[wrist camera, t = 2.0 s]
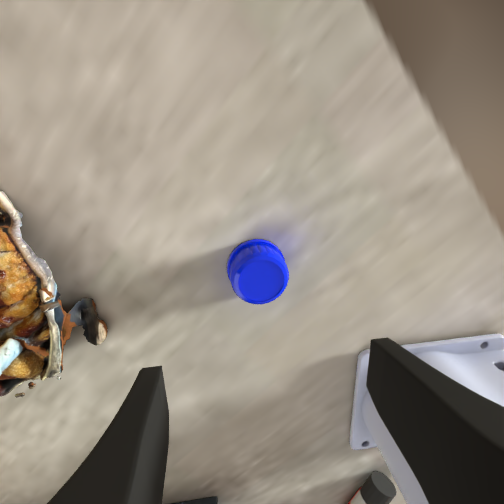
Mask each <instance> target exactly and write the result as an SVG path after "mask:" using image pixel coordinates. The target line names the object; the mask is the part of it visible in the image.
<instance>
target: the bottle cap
mask: <svg viewBox="0 0 504 504" xmlns="http://www.w3.org/2000/svg"><path fill="white" fill-rule="evenodd" d="M227 273H228V277H229V279H230V281H231V284H232V287H233V290H234V292H235V293H236V295H237V296H238V297H239V298H241V299H242V300H244V301H246V302H249V303H252V304H265V303H269V302H271V301H273V300H275V299H276V298H278V297H279V296H280V295H281V294H282V292H283V291H284V289H285V288H286V286H287V283H288V279H289V272H288V268H287V266H286V264H285V260H284V257H283V255H282V253H281V251H280V250H279V249H278V247H277V246H276V245H274V244H273V243H271V242H269V241H266V240H263V239H253V240H248V241H246V242H244V243H241V244H240V245H239V246H237V247H236V248H235V249H234V250H233V251H232V253H231V254H230V256H229V259H228V261H227Z"/></svg>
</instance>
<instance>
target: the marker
mask: <svg viewBox="0 0 504 504" xmlns="http://www.w3.org/2000/svg"><path fill="white" fill-rule="evenodd" d="M395 496H396V489H395V487H394V485H393V483H392V482H391V480H390V479H389V478H388V477H387V476H385V475H384V474H382V473H380V472H378V471H374V472H372V473H371V475H370V476H369V477H368V479H367V480H366V481H365V483H364V484H363V485H362V486H361V487H360V488H359V489H358V491H357V492H356V493H355V495H354V496H353V497H352V499H351V500H350V501H349V503H348V504H389V503H390V502H391V500H392V499H393V498H394V497H395Z"/></svg>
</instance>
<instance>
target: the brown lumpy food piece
mask: <svg viewBox="0 0 504 504" xmlns="http://www.w3.org/2000/svg"><path fill="white" fill-rule="evenodd" d="M22 217H23V214H22V213H20V212H19V211H18V210H16V209H15V208H14V207H13V204H12V202H11V201H10V200H9V199H8V197H7V195H6V194H5V193H4V191H2V192H0V396H4V395H6V394H8V393H9V392H11V391H12V390H13V389H14V388H16V387H17V386H19V385H21V383H23V382H24V381H27V380H35V379H39V378H41V380H44V379H46V378H48V377H54V376H55V375H57V374H58V373H59V374H60V373H61V372H62V370H63V365H62V357H63V350H64V349H63V346H64V345H65V343H66V340H68V339H69V338H70V334H71V331H72V327H74V326H80V325H83V327H82V328H83V329H84V330H85V331H84V334H83V335H84V336H85V337H86V339H87V340H88V342H90V343H92V344H94V345H99V344H101V343H102V342H103V341H104V340H105V338H106V336H107V326H106V324H105V322H104V321H103V320H100V319H98V318H97V316H98V314H97V312H96V305H95V303H94V301H93V299H87V298H82V299H81V300H82V301H78V302H77V303H76V304H75V306H74V307H73V308H72V309H71V310H70V311H69V312H68V313H67V314H66V312H65V311H64V310H63V308H62V304H61V300H60V299H59V296H60V294H59V293H58V291H57V285H56V283H55V281H54V279H53V277H52V272H51V270H50V268H49V267H48V265H47V263H46V261H45V260H44V259H42V258H39V257H37V256H36V254H35V253H34V251H33V250H32V249H31V247H30V246H29V245H28V244H27V243H26V242H25V241H24V240H23V239H22V236H21V231H20V227H21V226H22V222H21V220H20V219H21V218H22ZM57 379H58V380H60V379H61V377H60V376H58V377H57ZM28 386H29V389H33V388H34V387H35V386H36V384H34V383H33V382H30V383H29V384H28ZM24 395H25V394H24V393H20V394H16V395H15V397H19V396H22V397H23V396H24Z"/></svg>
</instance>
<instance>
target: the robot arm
mask: <svg viewBox="0 0 504 504" xmlns="http://www.w3.org/2000/svg"><path fill="white" fill-rule="evenodd" d="M349 443H350V446H351V448H352V449H354V450H361V449H367V448H373V447H378V449H379V451H380V453H381V455H382V457H383V458H384V460H385V462H386V464H387V466H388V468H389V470H390V472H391V474H392V476H393V477H394V479H395V481H396V483H397V485H398V487H399V489H400V491H401V493H402V495H403V497H404V498H405V500H406V502H407V504H504V336H502V335H501V334H498V333H496V334H488V335H480V336H472V337H464V338H455V339H447V340H439V341H431V342H423V343H415V344H406V345H399V344H397V343H396V342H394V341H392V340H391V339H389V338H381V339H373V340H371V345H370V349H366V350H363V351H362V352H360V354H359V356H358V362H357V371H356V381H355V391H354V400H353V410H352V420H351V429H350V439H349ZM168 445H169V410H168V404H167V397H166V391H165V385H164V378H163V372H162V366H156V367H148V368H142V369H141V370H140V371H139V374H138V376H137V378H136V380H135V382H134V384H133V386H132V388H131V390H130V392H129V393H128V395H127V397H126V399H125V401H124V402H123V404H122V406H121V407H120V409H119V411H118V412H117V414H116V416H115V417H114V419H113V421H112V422H111V424H110V425H109V427H108V428H107V430H106V431H105V433H104V434H103V436H102V437H101V438H100V440H99V441H98V443H97V444H96V446H95V447H94V448H93V450H92V451H91V452H90V454H89V455H88V456H87V458H86V459H85V460H84V462H83V463H82V464H81V465H80V467H79V468H78V469H77V470H76V472H75V473H74V474H73V475H72V476H71V477H70V479H69V480H68V481H67V482H66V483H65V484H64V486H63V487H62V488H61V489H60V490H59V491H58V492H57V494H56V495H55V496H54V497H53V498H52V499H51V500H50V501H49V502H48V503H47V504H162V497H163V488H164V480H165V472H166V463H167V454H168Z"/></svg>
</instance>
